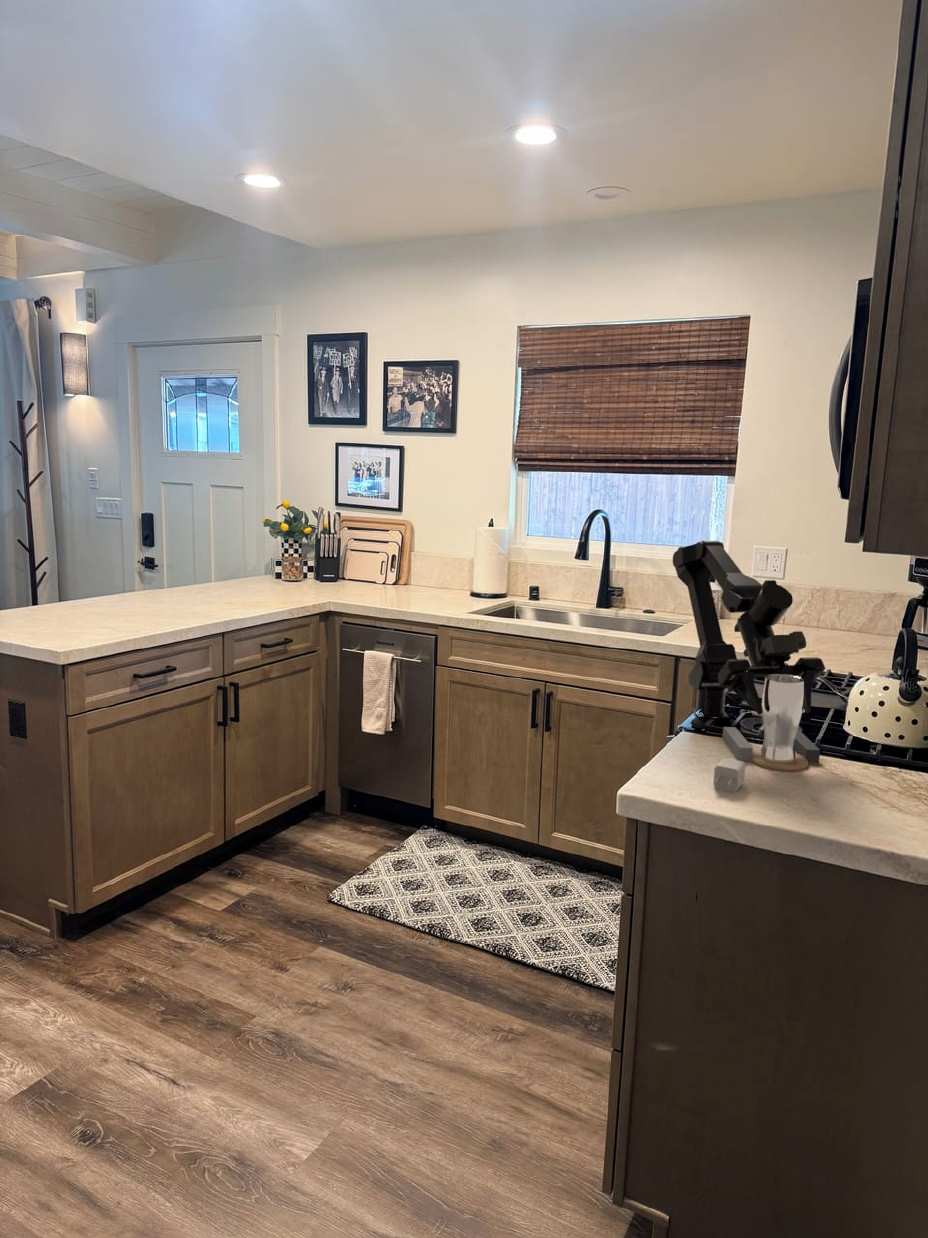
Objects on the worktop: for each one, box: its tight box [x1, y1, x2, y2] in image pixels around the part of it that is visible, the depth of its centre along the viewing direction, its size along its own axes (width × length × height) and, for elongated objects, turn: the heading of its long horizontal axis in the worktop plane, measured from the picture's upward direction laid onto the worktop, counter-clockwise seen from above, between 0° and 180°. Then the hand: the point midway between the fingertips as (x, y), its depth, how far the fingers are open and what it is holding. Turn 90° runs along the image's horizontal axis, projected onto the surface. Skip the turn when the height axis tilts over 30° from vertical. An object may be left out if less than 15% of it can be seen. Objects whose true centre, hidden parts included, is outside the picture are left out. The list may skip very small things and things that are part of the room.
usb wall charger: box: [713, 757, 746, 793], centre depth 139 cm, size 4×7×4 cm, turn 148°
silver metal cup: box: [760, 674, 804, 764], centre depth 151 cm, size 7×7×15 cm
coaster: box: [751, 748, 809, 772], centre depth 152 cm, size 10×10×1 cm
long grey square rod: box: [795, 729, 821, 763], centre depth 157 cm, size 12×2×2 cm, turn 177°
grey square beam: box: [721, 726, 754, 762], centre depth 158 cm, size 12×2×2 cm, turn 177°
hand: (785, 712), depth 150 cm, fingers open, 9 cm apart
